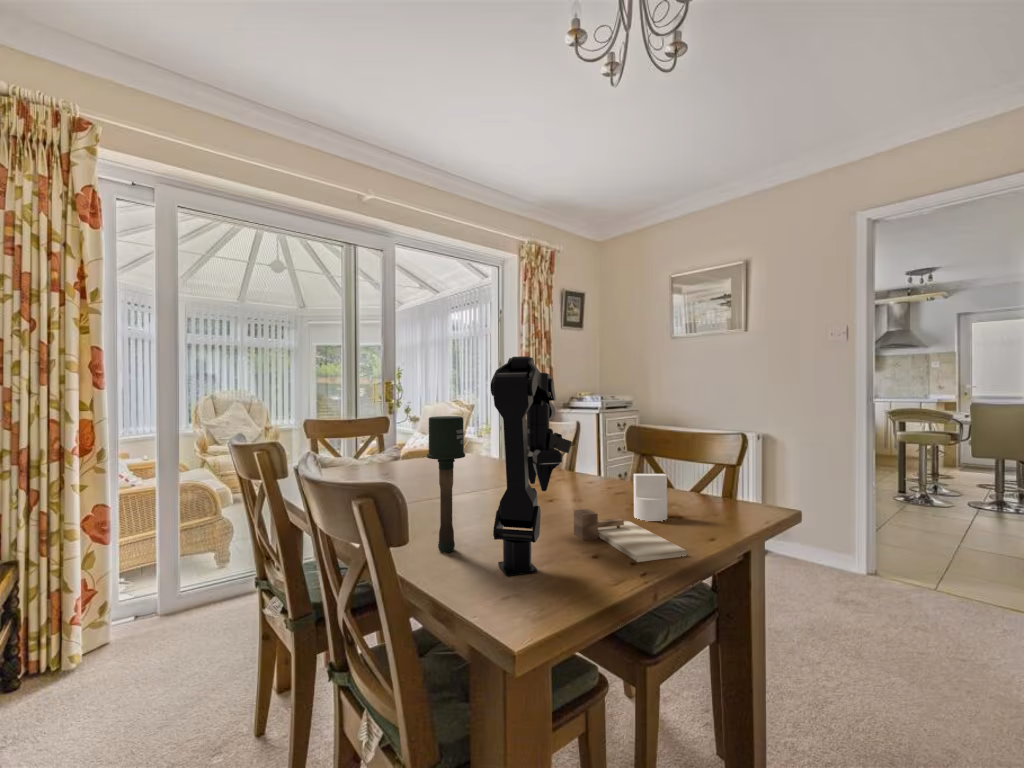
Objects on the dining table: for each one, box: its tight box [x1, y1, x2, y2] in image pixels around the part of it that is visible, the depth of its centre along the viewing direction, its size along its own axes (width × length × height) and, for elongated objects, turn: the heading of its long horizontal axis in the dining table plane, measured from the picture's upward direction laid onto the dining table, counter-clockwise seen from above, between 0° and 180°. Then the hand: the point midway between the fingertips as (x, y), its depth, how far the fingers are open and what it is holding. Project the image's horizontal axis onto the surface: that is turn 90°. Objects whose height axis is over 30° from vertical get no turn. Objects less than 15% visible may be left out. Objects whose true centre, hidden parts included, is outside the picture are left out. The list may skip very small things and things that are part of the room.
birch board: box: [598, 520, 688, 563], centre depth 111 cm, size 24×12×1 cm, turn 17°
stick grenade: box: [426, 415, 466, 553], centre depth 105 cm, size 8×9×30 cm
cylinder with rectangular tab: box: [633, 473, 668, 522], centre depth 131 cm, size 9×9×12 cm
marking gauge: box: [573, 508, 625, 541], centre depth 116 cm, size 12×5×6 cm, turn 107°
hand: (538, 487), depth 116 cm, fingers open, 9 cm apart
